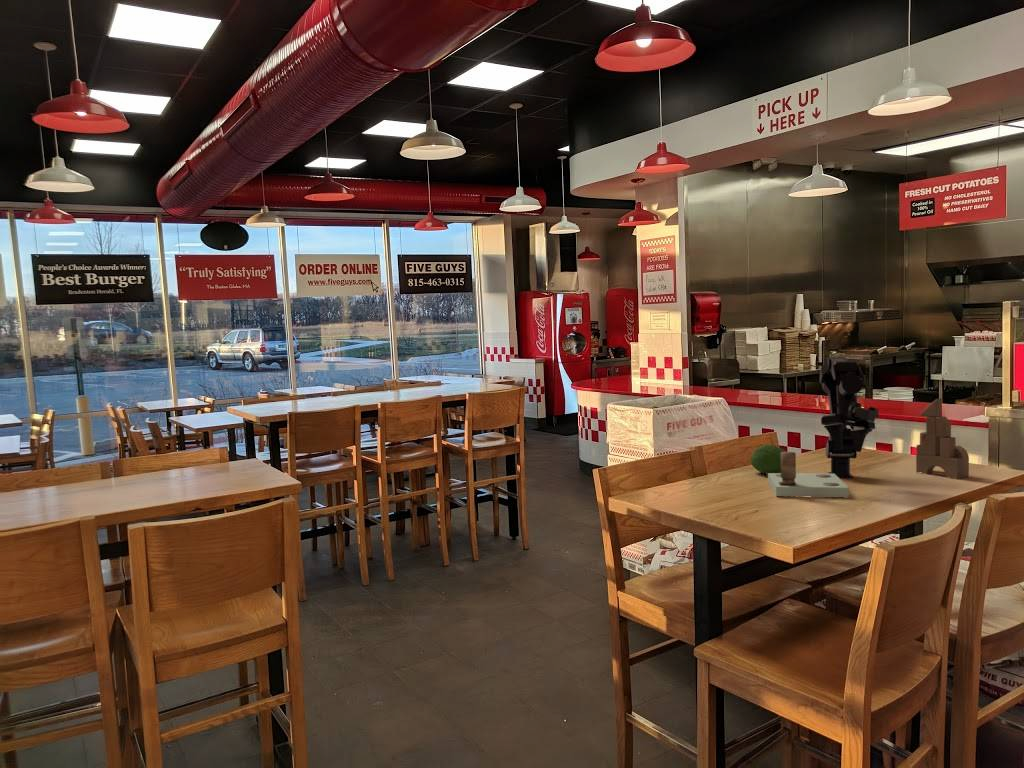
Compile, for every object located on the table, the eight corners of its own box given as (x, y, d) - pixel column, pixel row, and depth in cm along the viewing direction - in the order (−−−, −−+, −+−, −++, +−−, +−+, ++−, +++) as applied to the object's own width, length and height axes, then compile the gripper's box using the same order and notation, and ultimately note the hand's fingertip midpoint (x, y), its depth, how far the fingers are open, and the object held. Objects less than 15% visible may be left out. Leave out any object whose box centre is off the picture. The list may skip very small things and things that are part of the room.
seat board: (768, 482, 234) (767, 472, 234) (834, 482, 230) (834, 473, 229) (776, 496, 215) (775, 486, 215) (848, 497, 210) (848, 487, 210)
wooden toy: (970, 476, 231) (970, 398, 229) (957, 479, 228) (958, 400, 226) (923, 469, 245) (923, 395, 243) (911, 471, 242) (911, 397, 240)
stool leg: (778, 492, 220) (778, 452, 219) (791, 492, 220) (791, 451, 219) (785, 495, 216) (784, 454, 215) (798, 495, 216) (798, 453, 215)
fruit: (801, 475, 243) (801, 445, 242) (783, 479, 237) (783, 449, 236) (762, 469, 255) (762, 441, 254) (745, 473, 249) (744, 444, 249)
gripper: (851, 392, 213) (854, 445, 210) (889, 400, 222) (893, 451, 219) (818, 397, 223) (821, 448, 219) (856, 405, 232) (859, 454, 229)
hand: (849, 450), depth 221 cm, fingers open, 9 cm apart
